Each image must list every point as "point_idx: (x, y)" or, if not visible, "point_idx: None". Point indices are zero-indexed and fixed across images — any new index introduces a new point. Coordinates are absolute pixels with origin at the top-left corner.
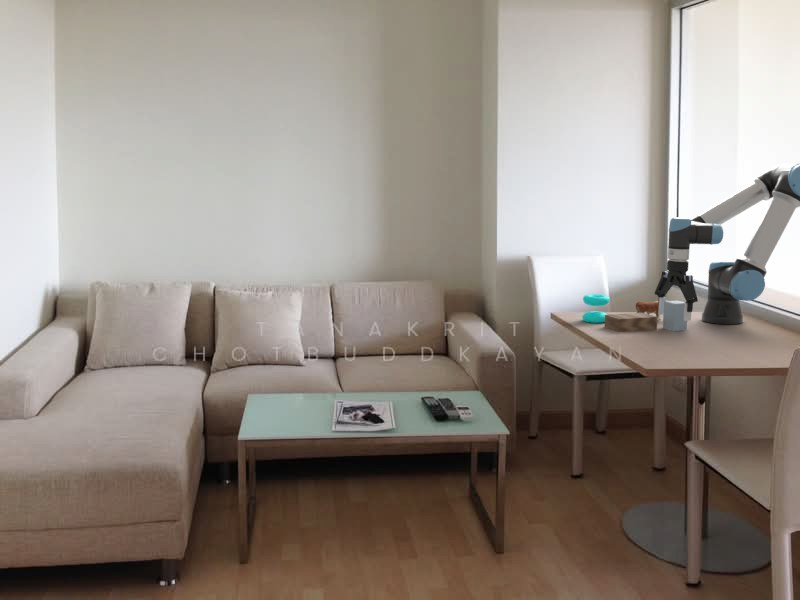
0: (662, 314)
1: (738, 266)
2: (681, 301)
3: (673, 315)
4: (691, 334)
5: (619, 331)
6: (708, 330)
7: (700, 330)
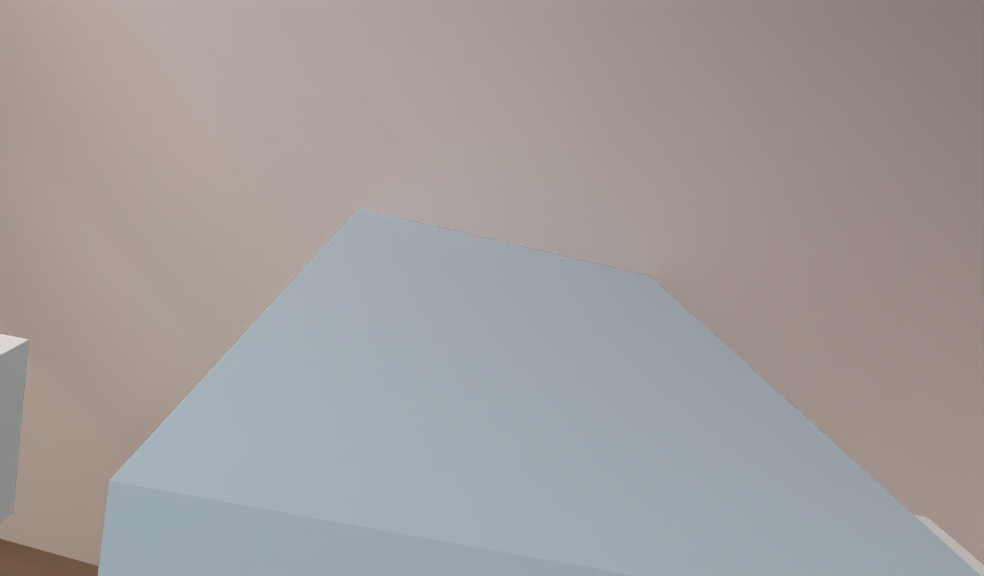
0: (14, 428)
1: None
2: (556, 563)
3: None
4: None
5: None
6: (976, 22)
7: (865, 147)
